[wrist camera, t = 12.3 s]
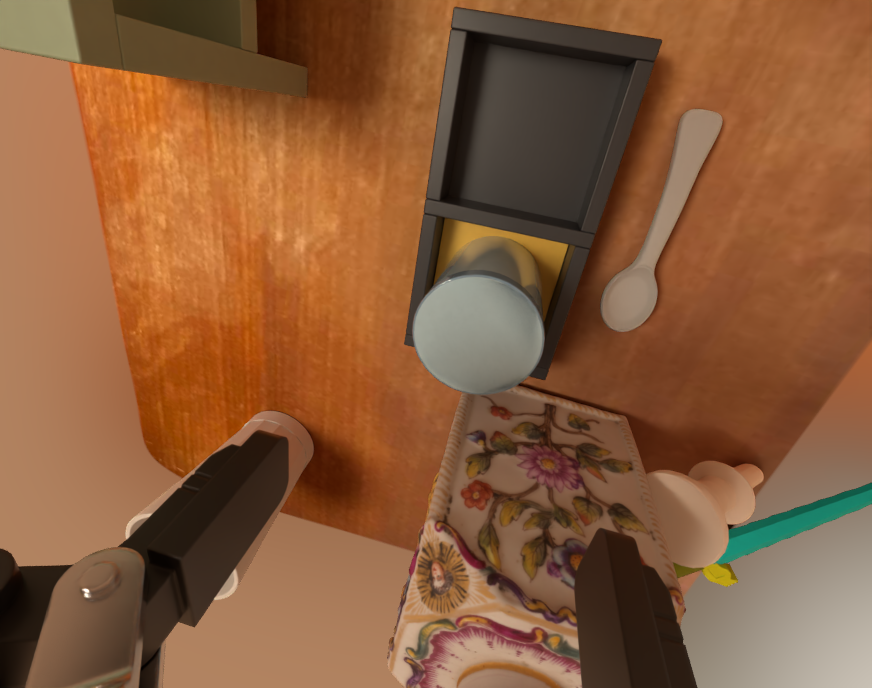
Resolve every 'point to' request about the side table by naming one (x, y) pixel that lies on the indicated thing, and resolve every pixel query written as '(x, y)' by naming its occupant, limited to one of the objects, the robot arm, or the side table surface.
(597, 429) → the decorative jar
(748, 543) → the toy sword
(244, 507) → the robot arm
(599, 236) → the side table surface
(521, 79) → the tray
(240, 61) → the shelf
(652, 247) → the spoon
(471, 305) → the blue grey cylinder
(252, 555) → the cup
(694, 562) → the beige rounded piece
